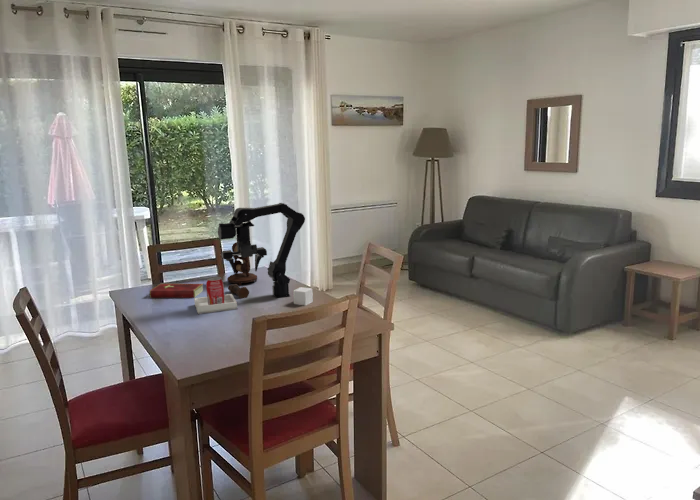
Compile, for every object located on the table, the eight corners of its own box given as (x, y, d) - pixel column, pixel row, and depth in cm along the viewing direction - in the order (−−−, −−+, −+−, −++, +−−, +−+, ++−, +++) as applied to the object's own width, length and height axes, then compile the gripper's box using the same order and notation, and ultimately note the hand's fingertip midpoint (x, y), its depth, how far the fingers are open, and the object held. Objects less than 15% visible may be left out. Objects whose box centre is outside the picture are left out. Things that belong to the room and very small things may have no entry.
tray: (232, 300, 237) (231, 293, 236) (237, 309, 224) (236, 302, 223) (194, 304, 231) (194, 298, 230) (198, 314, 218) (197, 307, 217)
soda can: (214, 302, 231) (212, 275, 229) (228, 304, 228) (226, 277, 226) (204, 307, 225) (202, 279, 222) (217, 308, 222) (215, 281, 220)
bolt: (232, 294, 252) (245, 301, 240) (223, 291, 249) (236, 297, 237) (237, 283, 253) (251, 289, 241) (228, 279, 250) (241, 285, 238)
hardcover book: (194, 298, 242) (194, 289, 241) (150, 298, 243) (149, 289, 242) (203, 291, 253) (203, 283, 253) (161, 291, 255) (160, 283, 254)
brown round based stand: (263, 281, 268) (261, 242, 264) (238, 287, 257) (236, 247, 253) (246, 277, 278) (243, 239, 274) (221, 282, 267) (219, 243, 263)
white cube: (312, 301, 232) (312, 288, 231) (305, 305, 227) (305, 292, 226) (301, 300, 235) (300, 287, 234) (293, 304, 229) (293, 290, 228)
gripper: (224, 242, 219) (226, 278, 222) (268, 238, 225) (270, 274, 228) (220, 237, 229) (222, 273, 232) (263, 234, 235) (265, 268, 238)
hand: (245, 272), depth 232 cm, fingers open, 9 cm apart
